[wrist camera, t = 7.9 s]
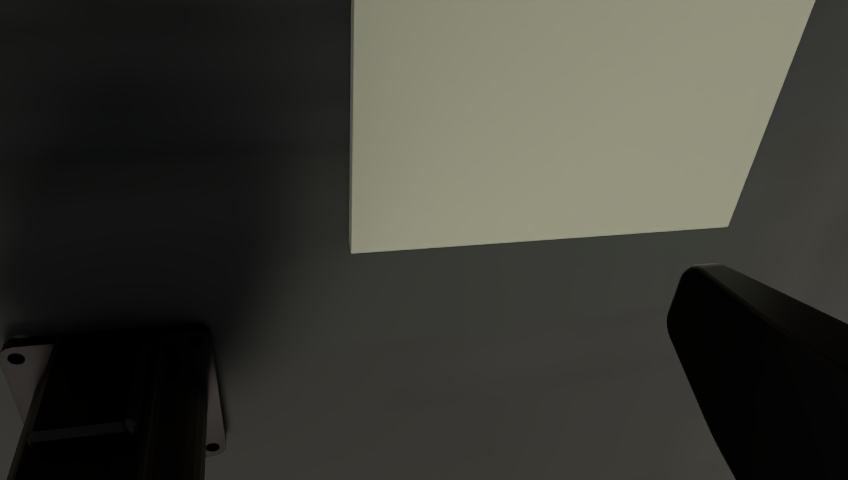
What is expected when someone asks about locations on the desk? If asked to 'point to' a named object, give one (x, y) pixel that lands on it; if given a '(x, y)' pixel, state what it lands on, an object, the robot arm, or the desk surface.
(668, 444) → the desk surface
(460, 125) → the mat
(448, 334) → the desk surface
